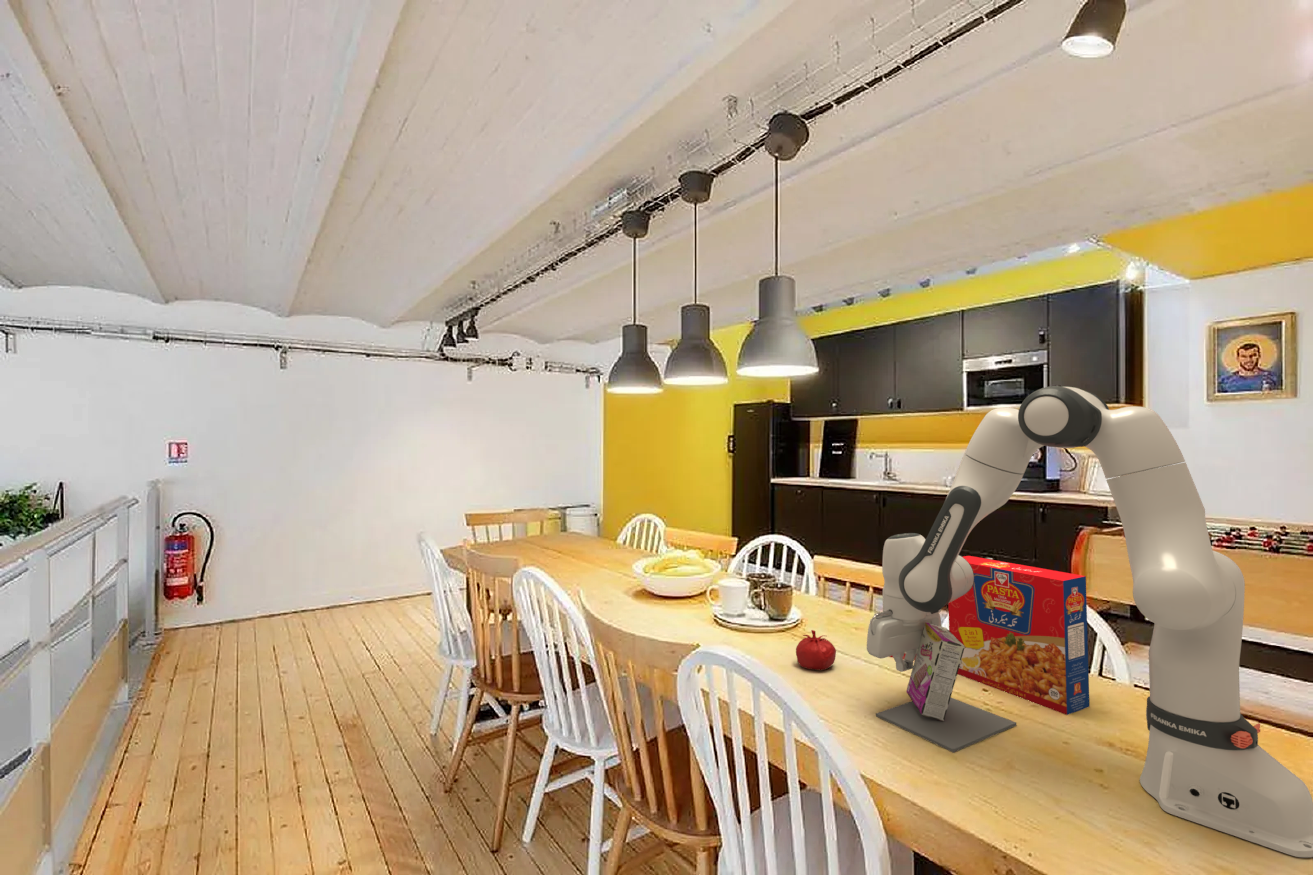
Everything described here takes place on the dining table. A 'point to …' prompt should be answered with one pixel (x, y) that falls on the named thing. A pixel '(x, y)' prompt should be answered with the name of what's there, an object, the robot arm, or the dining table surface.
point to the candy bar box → (935, 671)
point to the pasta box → (1025, 633)
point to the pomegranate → (815, 652)
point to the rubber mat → (948, 724)
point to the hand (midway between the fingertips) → (904, 669)
